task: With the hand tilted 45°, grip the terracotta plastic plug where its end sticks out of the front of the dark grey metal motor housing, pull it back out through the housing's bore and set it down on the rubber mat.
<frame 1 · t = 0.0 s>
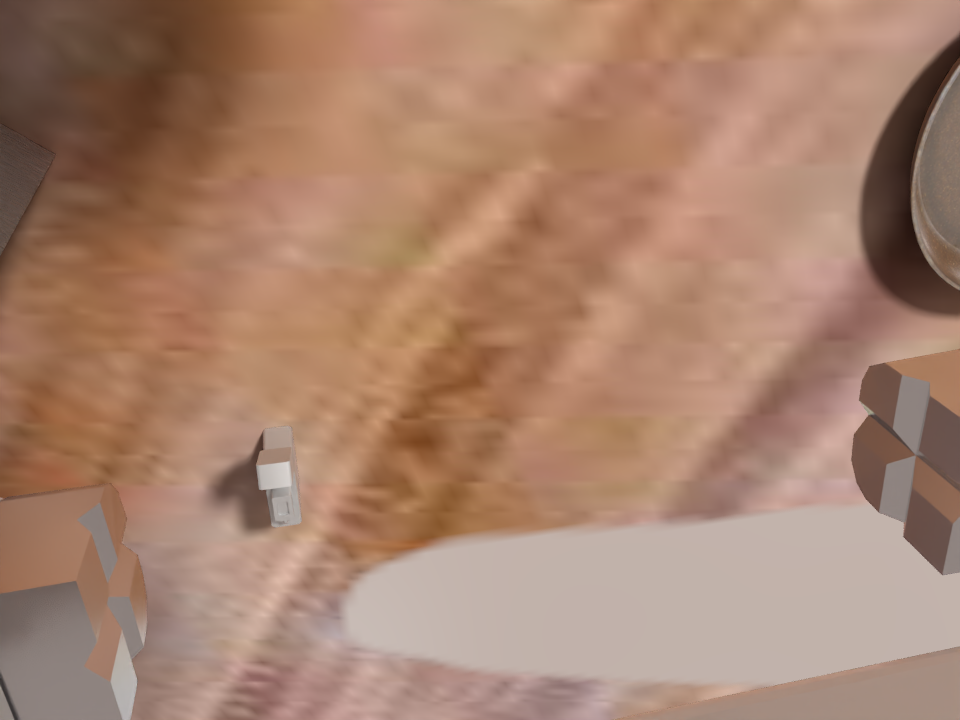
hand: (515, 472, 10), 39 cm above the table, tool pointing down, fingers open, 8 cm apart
lighter: (278, 433, 56), on the table
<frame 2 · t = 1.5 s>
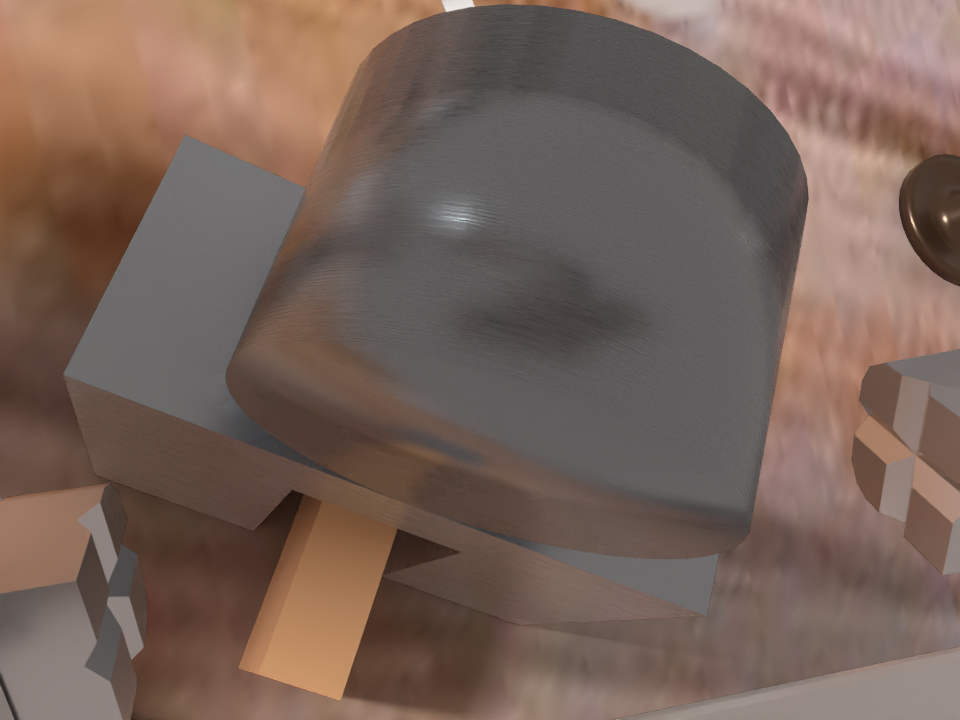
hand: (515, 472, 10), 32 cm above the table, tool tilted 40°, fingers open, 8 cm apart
plug: (321, 543, 41), on the table
housing: (347, 470, 42), on the table
candlestick: (952, 224, 60), on the table
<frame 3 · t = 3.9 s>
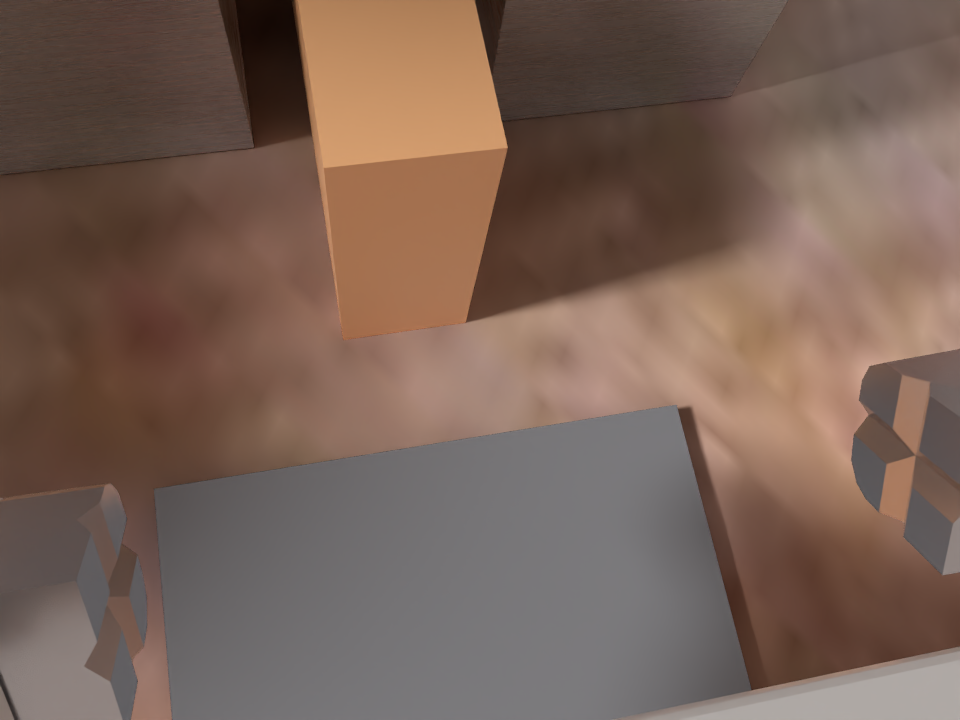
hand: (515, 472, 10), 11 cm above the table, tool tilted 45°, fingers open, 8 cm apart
plug: (368, 121, 24), on the table
housing: (349, 9, 25), on the table
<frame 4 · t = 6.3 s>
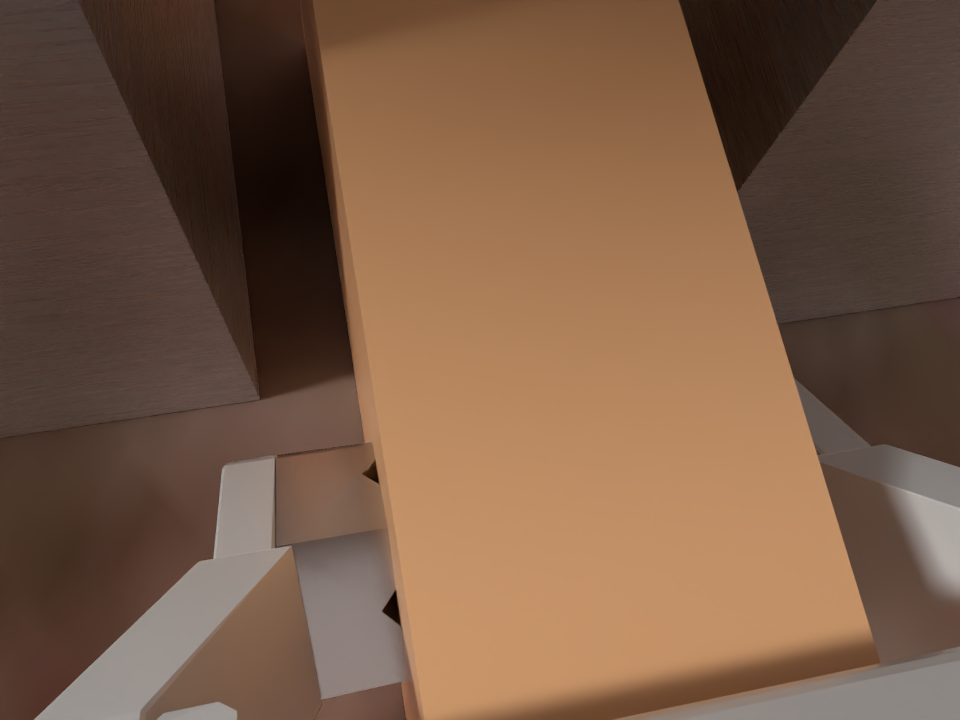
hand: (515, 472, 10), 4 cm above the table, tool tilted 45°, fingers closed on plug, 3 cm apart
plug: (443, 341, 15), on the table, touching gripper
housing: (409, 157, 16), on the table
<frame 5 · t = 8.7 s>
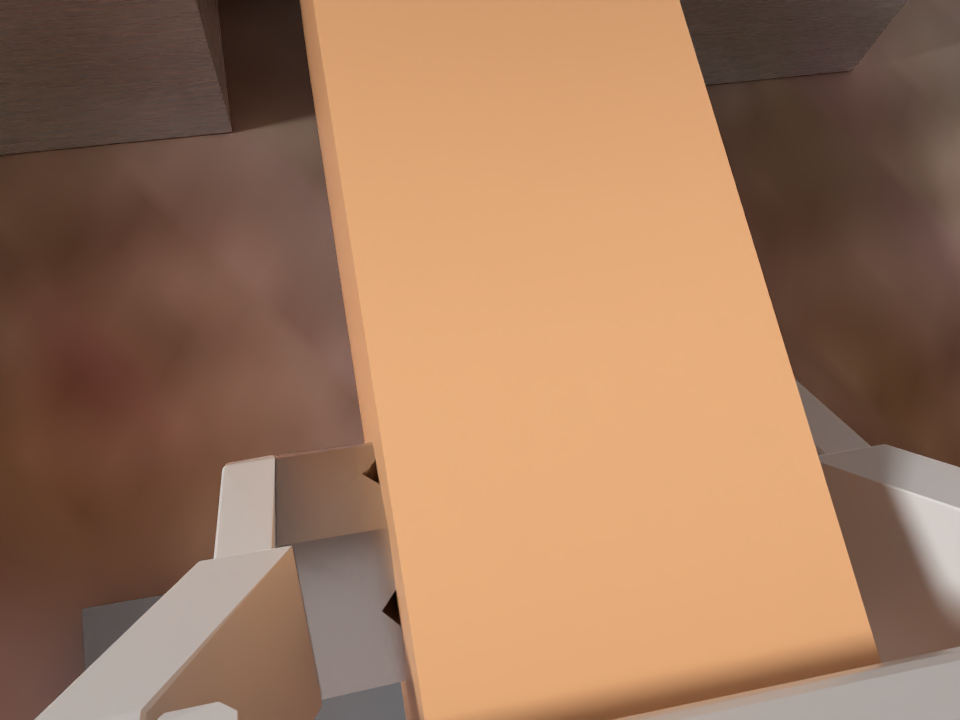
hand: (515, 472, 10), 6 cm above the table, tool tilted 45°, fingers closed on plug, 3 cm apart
plug: (443, 341, 15), point 2 cm above the table, touching gripper
when the fingers open (6 cm above the table, at t = 11.4 s): plug stays where it is, resting on mat.
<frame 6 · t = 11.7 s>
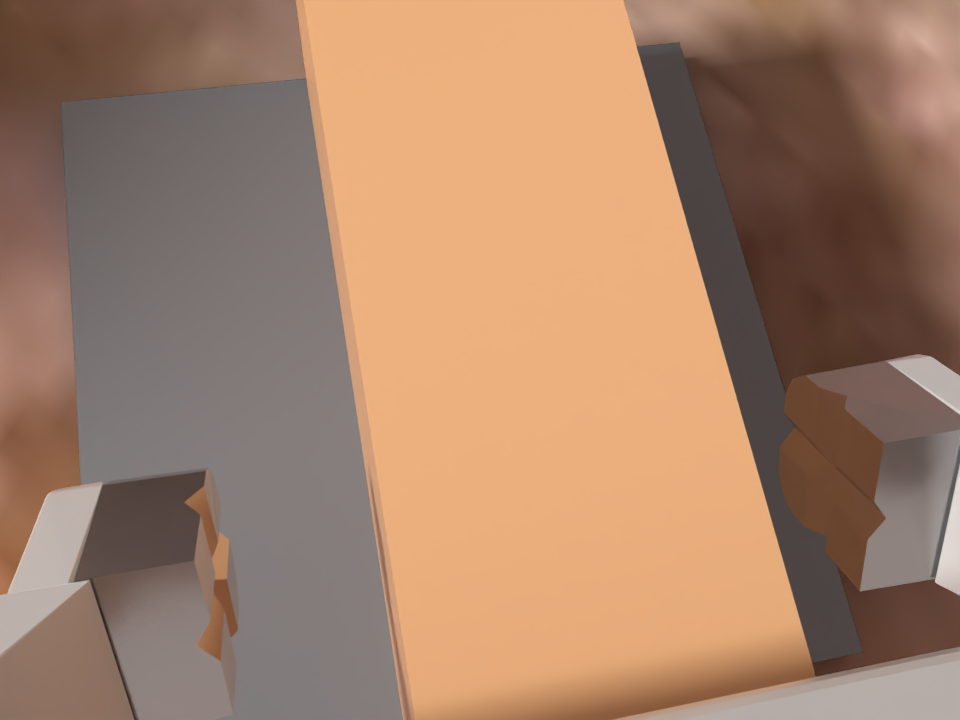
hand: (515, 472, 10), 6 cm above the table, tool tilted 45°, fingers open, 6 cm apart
mat: (437, 370, 16), on the table
plug: (439, 372, 16), resting on mat
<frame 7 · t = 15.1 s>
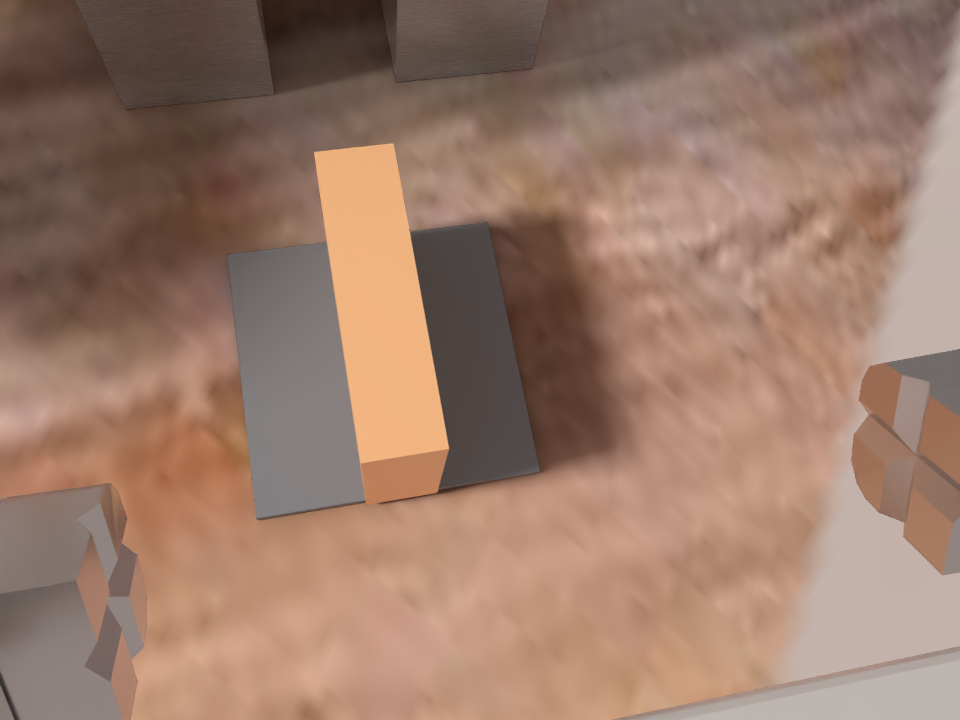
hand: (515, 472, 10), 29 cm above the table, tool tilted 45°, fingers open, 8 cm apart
mat: (380, 363, 41), on the table
plug: (380, 364, 40), resting on mat
housing: (324, 21, 46), on the table
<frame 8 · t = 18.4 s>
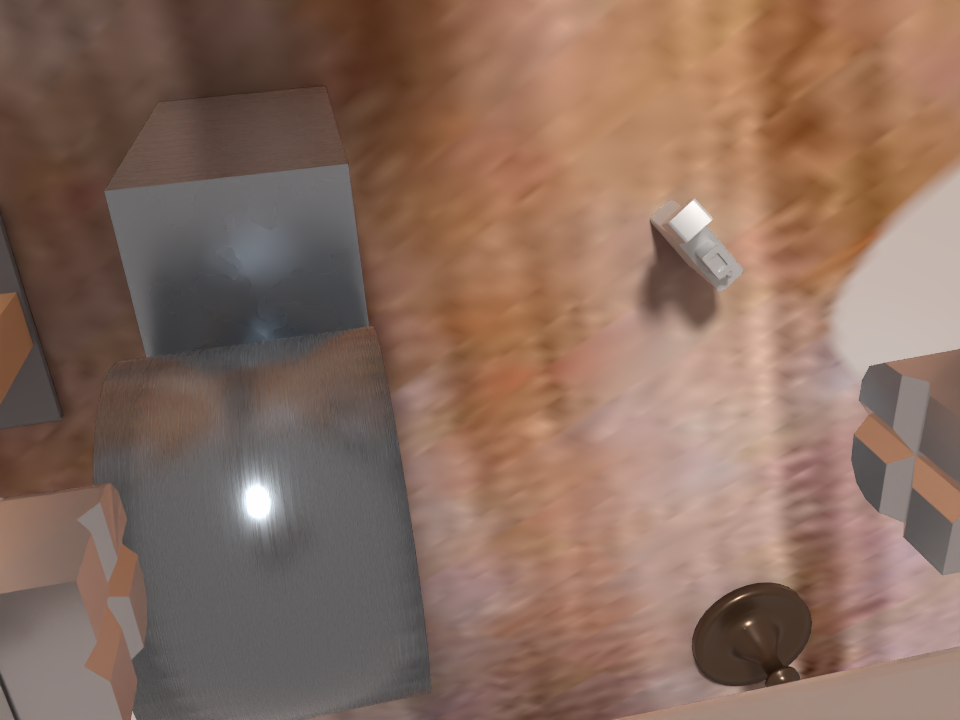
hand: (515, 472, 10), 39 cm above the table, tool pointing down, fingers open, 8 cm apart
lighter: (664, 214, 52), on the table
housing: (276, 283, 49), on the table
candlestick: (748, 629, 68), on the table
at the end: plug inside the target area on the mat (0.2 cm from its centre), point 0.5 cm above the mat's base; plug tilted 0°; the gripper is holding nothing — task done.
